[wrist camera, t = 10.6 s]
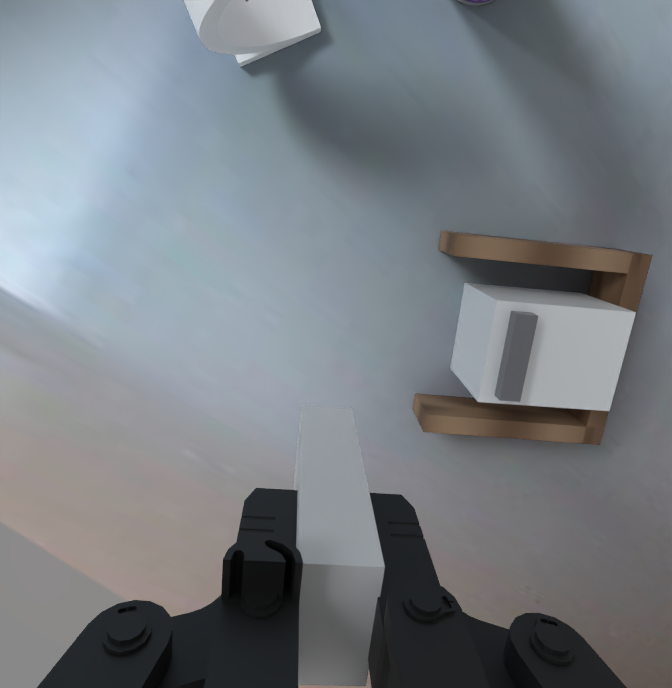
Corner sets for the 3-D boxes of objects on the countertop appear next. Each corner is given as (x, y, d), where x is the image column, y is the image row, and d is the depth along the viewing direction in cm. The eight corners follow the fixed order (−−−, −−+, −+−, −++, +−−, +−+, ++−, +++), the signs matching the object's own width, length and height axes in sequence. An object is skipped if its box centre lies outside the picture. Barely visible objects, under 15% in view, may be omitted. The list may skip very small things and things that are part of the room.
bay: (412, 409, 35) (423, 431, 32) (441, 230, 32) (456, 234, 28) (572, 421, 36) (599, 444, 33) (617, 249, 33) (652, 255, 29)
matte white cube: (449, 367, 35) (482, 407, 28) (464, 282, 33) (502, 303, 27) (560, 376, 35) (617, 416, 29) (580, 292, 34) (645, 315, 27)
